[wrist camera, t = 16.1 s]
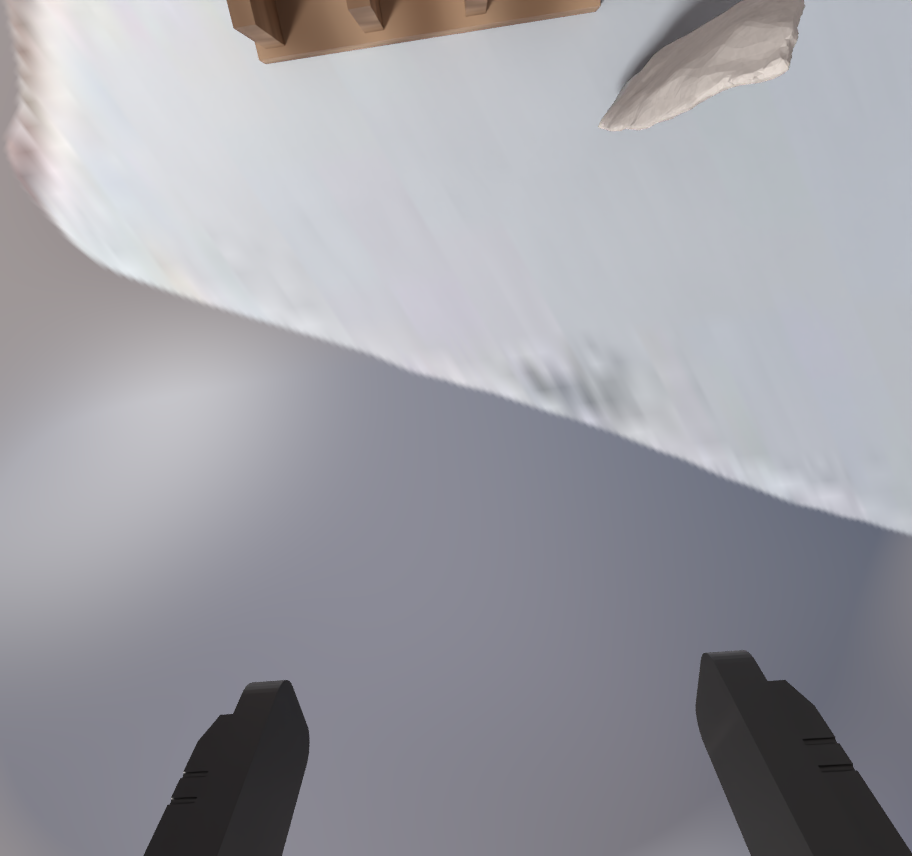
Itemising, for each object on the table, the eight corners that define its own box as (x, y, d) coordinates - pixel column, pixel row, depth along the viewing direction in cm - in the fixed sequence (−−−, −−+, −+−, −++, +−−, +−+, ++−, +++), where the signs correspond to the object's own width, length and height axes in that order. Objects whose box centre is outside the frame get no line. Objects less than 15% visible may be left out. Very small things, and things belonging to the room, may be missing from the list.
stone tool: (697, 3, 32) (869, -127, 18) (726, 48, 33) (910, -44, 19) (579, 127, 35) (652, 95, 21) (609, 165, 36) (697, 157, 22)
